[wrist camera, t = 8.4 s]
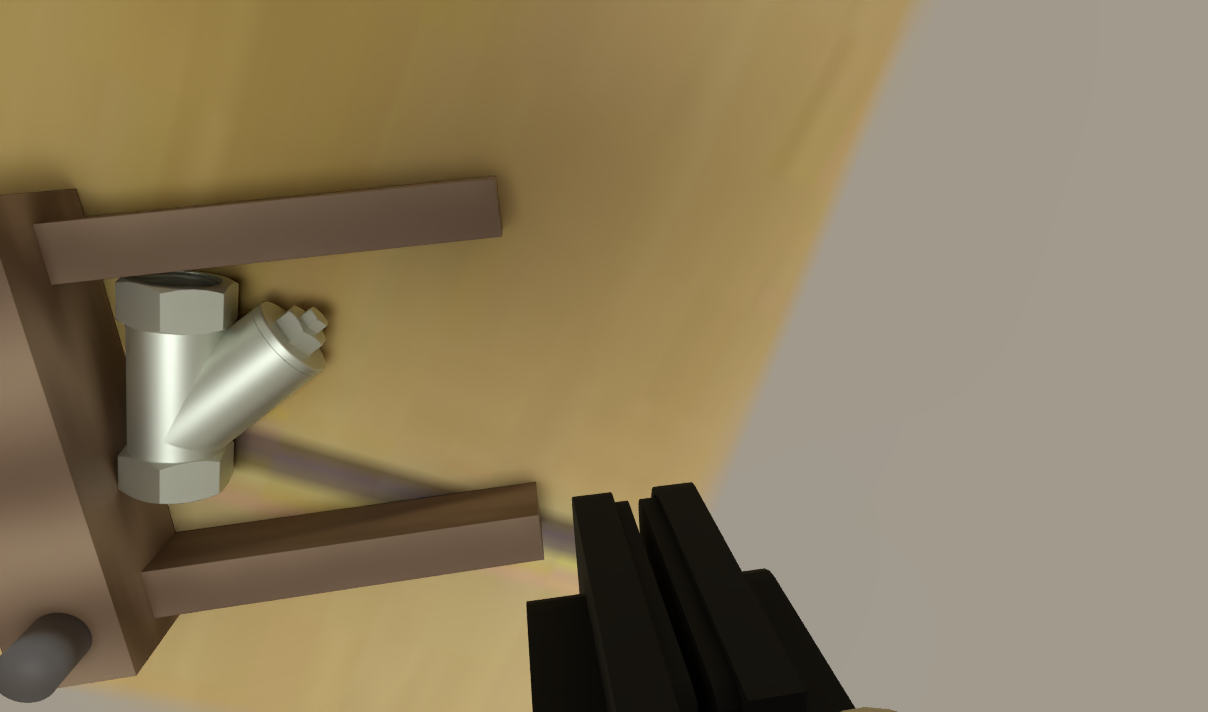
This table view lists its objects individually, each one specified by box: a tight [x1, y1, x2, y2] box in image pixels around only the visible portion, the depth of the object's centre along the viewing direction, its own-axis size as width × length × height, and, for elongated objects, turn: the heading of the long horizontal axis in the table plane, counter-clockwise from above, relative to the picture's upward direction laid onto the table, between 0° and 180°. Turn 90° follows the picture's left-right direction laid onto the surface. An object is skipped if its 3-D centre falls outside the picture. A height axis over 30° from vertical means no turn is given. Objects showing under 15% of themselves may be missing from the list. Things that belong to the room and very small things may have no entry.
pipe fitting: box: [115, 270, 328, 504], centre depth 27 cm, size 8×4×7 cm
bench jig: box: [0, 176, 544, 703], centre depth 26 cm, size 17×19×7 cm
